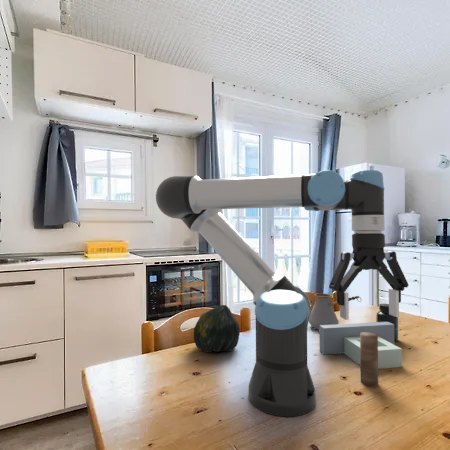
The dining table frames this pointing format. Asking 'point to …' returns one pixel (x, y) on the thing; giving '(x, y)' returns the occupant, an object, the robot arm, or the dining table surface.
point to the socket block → (386, 352)
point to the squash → (217, 330)
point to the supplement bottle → (387, 318)
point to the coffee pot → (324, 311)
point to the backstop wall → (351, 334)
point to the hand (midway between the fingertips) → (369, 317)
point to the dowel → (369, 359)
